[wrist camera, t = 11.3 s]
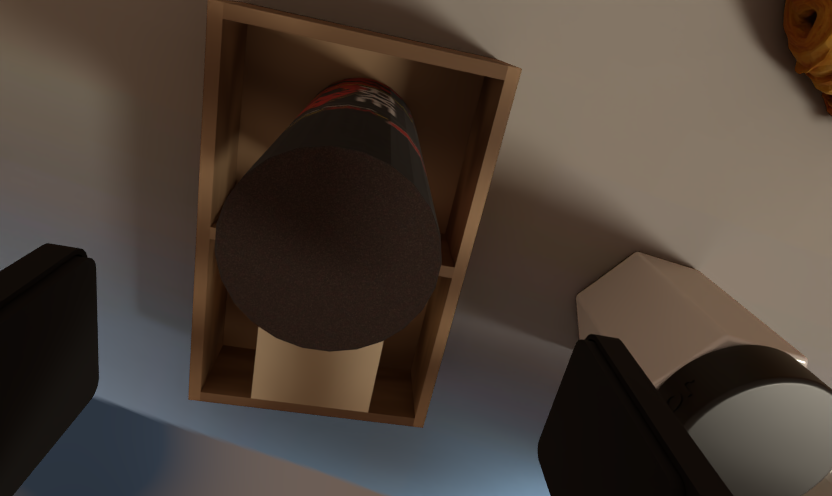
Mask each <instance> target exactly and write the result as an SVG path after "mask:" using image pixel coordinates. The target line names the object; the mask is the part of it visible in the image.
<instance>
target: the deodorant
mask: <svg viewBox="0 0 832 496" xmlns="http://www.w3.org/2000/svg"><path fill="white" fill-rule="evenodd" d="M215 257H216V261H217V265H218V269H219V273H220V277H221V280H222V282H223V284H224V285H225V287H226V289H227V291H228V293H229V294H230V296H231V298H232V300H233V302H234V303H235V304H236V305H237V306H238V308H239V309H240V310H241V311H242V312H243V313H244V314H245V315H246V316H247V317H248V318H249V319H250V320H251V321H252V322H253V323H254V324H255V325H257V326H258V327H260V328H261V329H263V330H264V331H266V332H267V333H269V334H271V335H272V336H274V337H275V338H277V339H280V340H282V341H285V342H288V343H290V344H293V345H296V346H298V347H301V348H306V349H314V350H321V351H328V352H332V351H345V350H357V349H360V348H363V347H366V346H370V345H373V344H376V343H379V342H382V341H384V340H386V339H387V338H389V337H391V336H392V335H394V334H396V333H397V332H399V331H401V330H402V329H404V328H405V327H406V326H407V325H408V324H409V323H410V322H411V321H412V320H413V319H414V318H415V317H416V316H417V315H418V314H419V313H420V312H421V311H422V310H423V309H424V307H425V305H426V304H427V302H428V300H429V298H430V297H431V295H432V293H433V291H434V290H435V288H436V284H437V280H438V276H439V272H440V268H441V264H442V255H441V235H440V231H439V227H438V222H437V218H436V214H435V209H434V205H433V200H432V196H431V192H430V187H429V183H428V179H427V174H426V170H425V166H424V161H423V157H422V153H421V148H420V144H419V140H418V135H417V131H416V126H415V123H414V120H413V117H412V114H411V111H410V109H409V108H408V106H407V105H406V103H405V102H404V100H403V99H402V97H400V96H399V95H398V94H397V93H396V92H395V91H394V90H393V89H392V88H390V87H388V86H387V85H385V84H383V83H381V82H379V81H377V80H372V79H367V78H362V77H358V78H345V79H343V80H340V81H337V82H334V83H332V84H330V85H329V86H327V87H326V88H325V89H323V90H322V91H320V92H319V93H318V94H317V95H316V96H315V98H314V99H313V100H312V101H311V102H310V103H309V104H308V105H307V106H306V107H305V109H304V110H303V111H302V112H301V113H300V114H299V115H298V116H297V117H296V118H295V120H294V121H293V122H292V123H291V124H290V125H289V126H288V127H287V128H286V130H285V131H284V132H283V133H282V134H281V135H280V136H279V137H278V138H277V139H276V141H275V142H274V143H273V144H272V145H271V146H270V147H269V148H268V149H267V150H266V152H265V153H264V154H263V155H262V156H261V157H260V158H259V159H258V160H257V161H256V163H255V164H254V165H253V166H252V167H251V168H250V169H249V170H248V171H247V172H246V174H245V175H244V176H243V177H242V178H241V180H240V181H239V182H238V184H237V185H236V186H235V188H234V189H233V190H232V191H231V193H230V194H229V195H228V197H227V198H226V200H225V202H224V205H223V208H222V210H221V213H220V216H219V219H218V221H217V224H216V235H215Z"/></svg>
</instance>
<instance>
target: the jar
mask: <svg viewBox="0 0 832 496" xmlns="http://www.w3.org/2000/svg"><path fill="white" fill-rule="evenodd" d="M576 305H577V317H578V329H579V340H580V339H583V340H585V338H586V337H587V336H588V335H590V334H596V335H602V336H608V337H614V338H619V339H620V340H621V341H622V342H623V343H624V345H625V346H626V348H627V349H628V350H629V352H630V353H631V355H632V356H633V357H634V359H635V360H636V361H637V363H638V364H639V366H640V367H641V368H642V370H643V371H644V373H645V374H646V375H647V377H648V378H649V379H650V381H651V382H652V384H653V385H654V386H655V388H656V389H657V391H658V392H659V393H660V395H661V396H662V397H663V399H664V400H665V402H666V403H667V404H668V406H669V407H670V408H671V410H672V411H673V413H674V414H675V415H676V417H677V418H678V420H679V421H680V422H681V424H682V425H683V426H684V428H685V429H686V431H687V432H688V433H689V435H690V436H691V438H692V439H693V440H694V442H695V443H696V444H697V446H698V447H699V449H700V450H701V451H702V453H703V454H704V455H705V457H706V458H707V460H708V461H709V462H710V464H711V465H712V467H713V468H714V469H715V471H716V472H717V473H718V475H719V476H720V478H721V479H722V480H723V482H724V483H725V485H726V486H727V487H728V489H729V490H730V491H731V493H732V494H733V496H802V495H804V494H805V493H807V492H808V491H809V490H811V489H812V488H813V487H815V486H816V485H817V484H818V483H819V482H821V481H822V480H823V479H824V478H825V477H826V476H827V475H828V473H829V472H830V471H831V470H832V389H831V388H830V387H828V386H827V385H826V384H825V383H824V382H822V381H821V380H820V379H819V378H818V377H816V376H815V375H814V374H813V373H812V372H810V371H809V370H808V369H807V362H808V361H807V358H806V357H805V356H804V355H803V354H801V353H800V352H799V351H798V350H796V349H795V348H794V347H793V346H792V345H790V344H789V343H788V342H787V341H785V340H784V339H783V338H782V337H780V336H779V335H778V334H777V333H775V332H774V331H773V330H772V329H770V328H769V327H768V326H767V325H766V324H764V323H763V322H762V321H761V320H759V319H758V318H757V317H756V316H754V315H753V314H752V313H751V312H749V311H748V310H747V309H746V308H744V307H743V306H742V305H741V304H740V303H738V302H737V301H736V300H735V299H733V298H732V297H731V296H730V295H728V294H727V293H726V292H725V291H723V290H722V289H721V288H720V287H718V286H717V285H716V284H715V283H714V282H712V281H711V280H710V279H709V278H707V277H706V276H705V275H704V274H702V273H701V272H700V271H698V270H695V269H692V268H689V267H686V266H682V265H679V264H676V263H673V262H670V261H666V260H663V259H660V258H657V257H653V256H650V255H647V254H644V253H641V252H635V253H634V254H632V255H631V256H629V257H628V258H627V259H625V260H624V261H623V262H621V263H620V264H619V265H617V266H616V267H614V268H613V269H612V270H610V271H609V272H608V273H606V274H605V275H604V276H602V277H601V278H599V279H598V280H597V281H595V282H594V283H593V284H591V285H590V286H588V287H587V288H586V289H584V290H583V291H582V292H580V293H579V294H578V295H577V296H576Z"/></svg>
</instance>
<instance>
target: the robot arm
mask: <svg viewBox="0 0 832 496" xmlns="http://www.w3.org/2000/svg"><path fill="white" fill-rule="evenodd" d="M98 381H99V366H98V326H97V285H96V264H95V261H94V260H93V259H92V258H87V255H86V252H85V251H84V250H83V249H80V248H74V247H68V246H62V245H56V244H49V243H47V244H44V245H42V246H40V247H39V248H37V249H35V250H34V251H32V252H31V253H29V254H27V255H26V256H24V257H22V258H21V259H19V260H18V261H16V262H14V263H13V264H11V265H10V266H8V267H6V268H5V269H3V270H1V271H0V496H13V495H14V493H15V492H16V491H17V490H18V489H19V487H20V486H21V485H22V484H23V482H24V481H25V480H26V479H27V477H28V476H29V475H30V474H31V472H32V471H33V470H34V468H36V466H37V465H38V464H39V463H40V462H41V460H42V459H43V458H44V457H45V455H46V454H47V453H48V452H49V450H50V449H51V448H52V447H53V446H54V444H55V443H56V442H57V441H58V439H59V438H60V437H61V436H62V435H63V433H64V432H65V431H66V429H67V428H68V427H69V426H70V425H71V423H72V422H73V421H74V420H75V419H76V417H77V416H78V415H79V414H80V412H81V411H82V410H83V409H84V408H85V406H86V405H87V404H88V403H89V401H90V400H91V399H92V397H93V396H94V394H95V392H96V389H97V386H98ZM538 459H539V462H540V465H541V468H542V471H543V474H544V477H545V480H546V483H547V486H548V489H549V492H550V495H551V496H733V494H732V493H731V491H730V490H729V489H728V487H727V486H726V485H725V483H724V482H723V480H722V479H721V478H720V476H719V475H718V473H717V472H716V471H715V469H714V468H713V467H712V465H711V464H710V462H709V461H708V460H707V458H706V457H705V455H704V454H703V453H702V451H701V450H700V449H699V447H698V446H697V444H696V443H695V442H694V440H693V439H692V438H691V436H690V435H689V433H688V432H687V431H686V429H685V428H684V426H683V425H682V424H681V422H680V421H679V420H678V418H677V417H676V415H675V414H674V413H673V411H672V410H671V408H670V407H669V406H668V404H667V403H666V402H665V400H664V399H663V397H662V396H661V395H660V393H659V392H658V391H657V389H656V388H655V386H654V385H653V384H652V382H651V381H650V379H649V378H648V377H647V375H646V374H645V373H644V371H643V370H642V368H641V367H640V366H639V364H638V363H637V361H636V360H635V359H634V357H633V356H632V355H631V353H630V352H629V350H628V349H627V348H626V346H625V345H624V343H623V342H622V341H621V340H620V339H619V338H614V337H608V336H602V335H596V334H590V335H588V336H587V337H586V338H585V340H583V339H580V340H579V341H578V342H577V343H576V345H575V347H574V350H573V353H572V355H571V358H570V360H569V363H568V366H567V368H566V371H565V374H564V376H563V379H562V381H561V384H560V387H559V389H558V392H557V395H556V397H555V400H554V402H553V405H552V408H551V410H550V413H549V416H548V418H547V421H546V423H545V426H544V429H543V431H542V434H541V437H540V439H539V443H538ZM802 496H832V470H831V471H830V472H829V473H828V475H827V476H826V477H825V478H824V479H823V480H822V481H821V482H819V483H818V484H817V485H816V486H815V487H813V488H812V489H811V490H809V491H808V492H807V493H805V494H804V495H802Z"/></svg>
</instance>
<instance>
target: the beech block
mask: <svg viewBox="0 0 832 496" xmlns="http://www.w3.org/2000/svg"><path fill="white" fill-rule="evenodd" d="M383 342H384V341H382V342H379V343H376V344H373V345H370V346H366V347H363V348H360V349H357V350H345V351H332V352H328V351H321V350H314V349H306V348H301V347H298V346H296V345H293V344H290V343H288V342H285V341H282V340H280V339H277V338H275V337H274V336H272V335H271V334H269V333H267V332H266V331H264V330H263V329H261V328H260V327H258V337H257V346H256V355H255V365H254V374H253V383H252V393H251V398H253V399H261V400H269V401H278V402H286V403H294V404H302V405H310V406H318V407H327V408H335V409H343V410H351V411H359V412H367V413H368V410H369V406H370V401H371V397H372V392H373V387H374V383H375V378H376V374H377V369H378V365H379V360H380V356H381V351H382V346H383Z"/></svg>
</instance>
